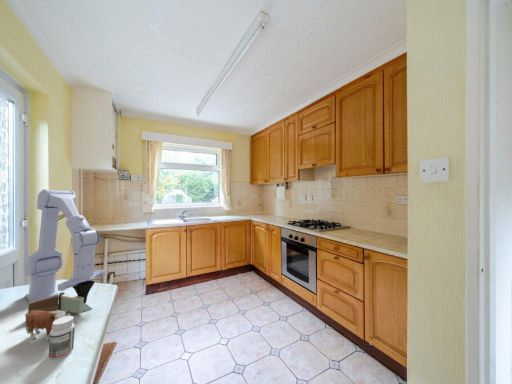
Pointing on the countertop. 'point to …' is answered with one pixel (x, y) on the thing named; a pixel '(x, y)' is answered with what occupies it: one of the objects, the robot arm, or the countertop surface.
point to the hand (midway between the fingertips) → (82, 303)
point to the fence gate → (72, 303)
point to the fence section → (46, 304)
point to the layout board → (85, 308)
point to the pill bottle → (61, 337)
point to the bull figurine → (42, 321)
